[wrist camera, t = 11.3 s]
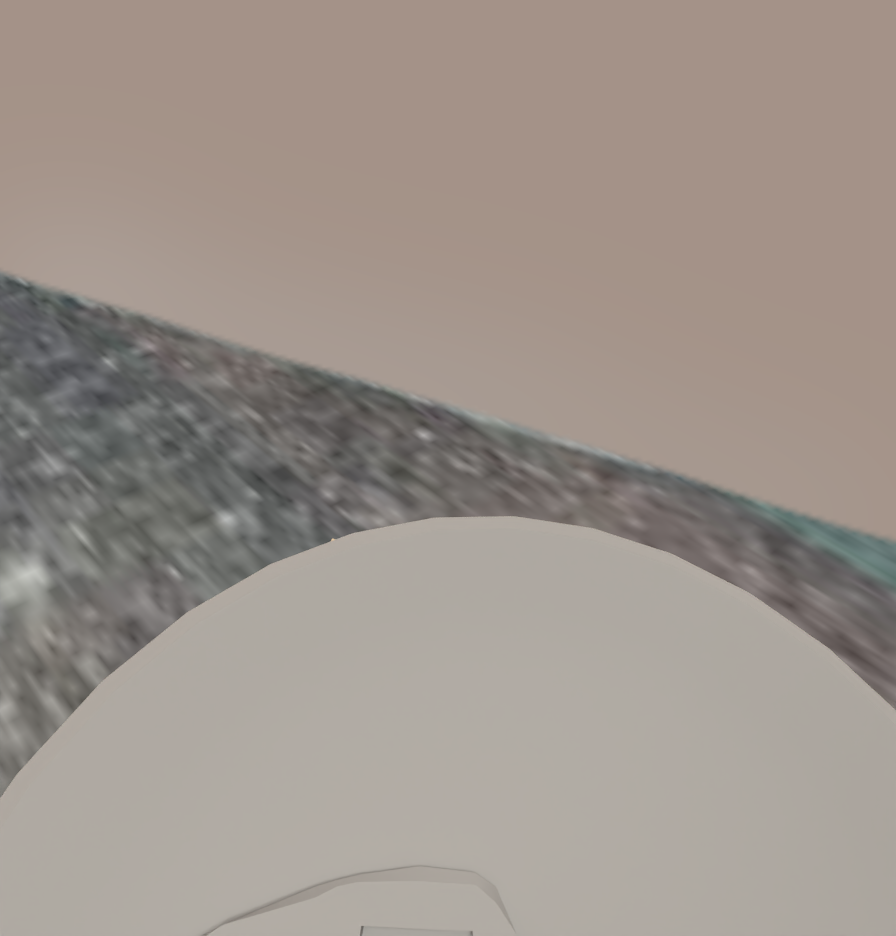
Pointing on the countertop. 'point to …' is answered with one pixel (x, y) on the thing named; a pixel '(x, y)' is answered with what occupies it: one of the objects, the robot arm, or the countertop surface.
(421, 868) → the canned food
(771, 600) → the countertop surface
